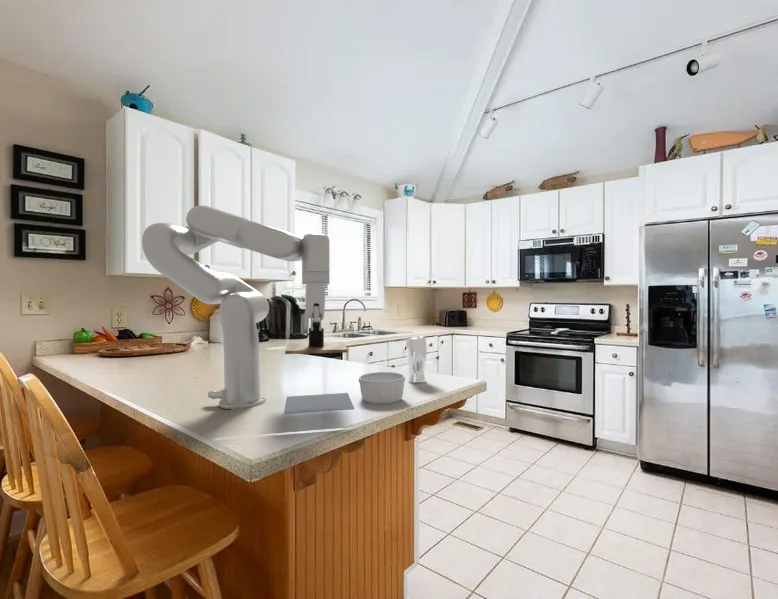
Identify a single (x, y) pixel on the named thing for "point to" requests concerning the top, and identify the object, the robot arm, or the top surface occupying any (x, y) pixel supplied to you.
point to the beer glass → (416, 358)
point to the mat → (318, 403)
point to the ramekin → (382, 387)
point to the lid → (316, 347)
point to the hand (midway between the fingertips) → (315, 344)
